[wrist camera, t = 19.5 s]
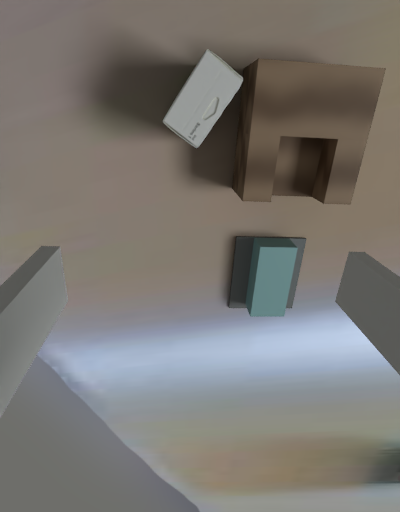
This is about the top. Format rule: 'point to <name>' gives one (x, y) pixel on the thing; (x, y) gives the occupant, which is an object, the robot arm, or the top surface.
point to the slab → (270, 276)
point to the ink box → (202, 99)
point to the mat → (243, 269)
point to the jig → (303, 129)
